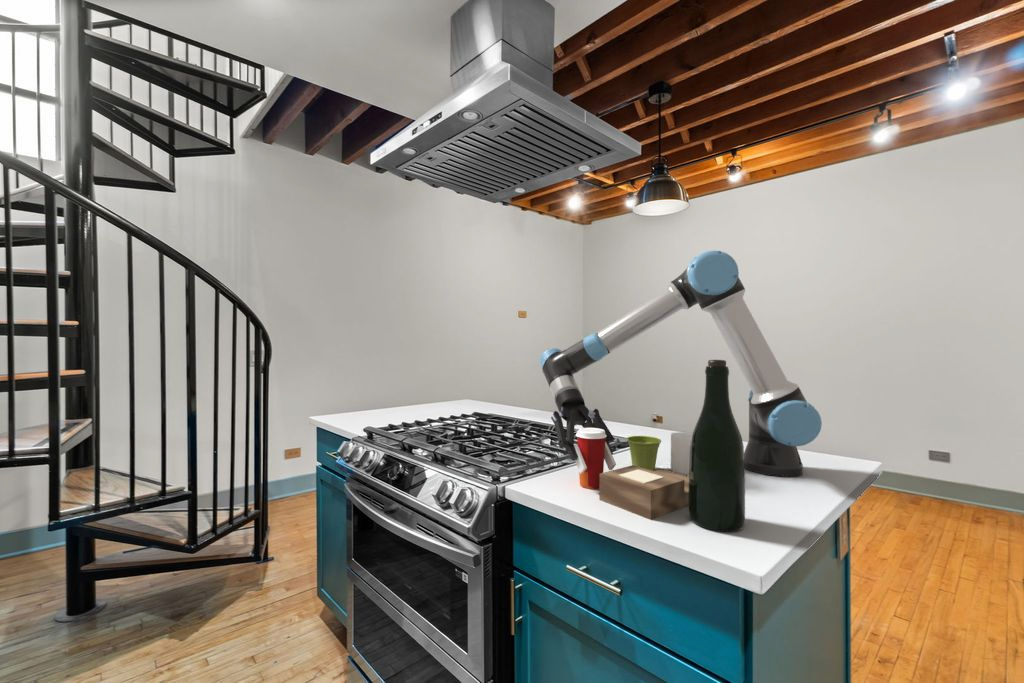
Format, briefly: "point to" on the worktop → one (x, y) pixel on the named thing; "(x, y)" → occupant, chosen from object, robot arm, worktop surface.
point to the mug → (680, 452)
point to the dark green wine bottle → (717, 459)
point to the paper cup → (591, 455)
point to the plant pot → (644, 451)
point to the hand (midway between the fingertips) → (598, 468)
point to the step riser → (644, 490)
